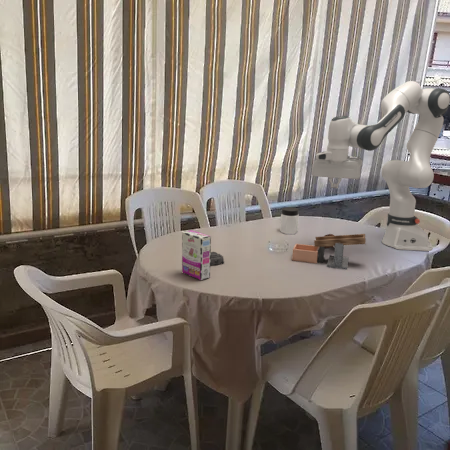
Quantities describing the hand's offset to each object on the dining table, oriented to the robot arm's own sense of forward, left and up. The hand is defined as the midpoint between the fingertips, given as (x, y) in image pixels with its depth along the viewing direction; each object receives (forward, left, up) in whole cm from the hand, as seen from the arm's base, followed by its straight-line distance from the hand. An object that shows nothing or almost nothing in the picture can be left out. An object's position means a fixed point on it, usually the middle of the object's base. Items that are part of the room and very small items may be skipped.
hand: (334, 188), depth 199 cm
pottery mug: (0, -4, -29) cm, 29 cm away
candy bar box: (+45, +48, -29) cm, 72 cm away
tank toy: (+45, +33, -29) cm, 63 cm away
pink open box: (+8, +14, -29) cm, 33 cm away
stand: (-3, +14, -29) cm, 32 cm away
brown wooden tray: (-5, +14, -20) cm, 25 cm away
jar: (+22, -24, -29) cm, 44 cm away
